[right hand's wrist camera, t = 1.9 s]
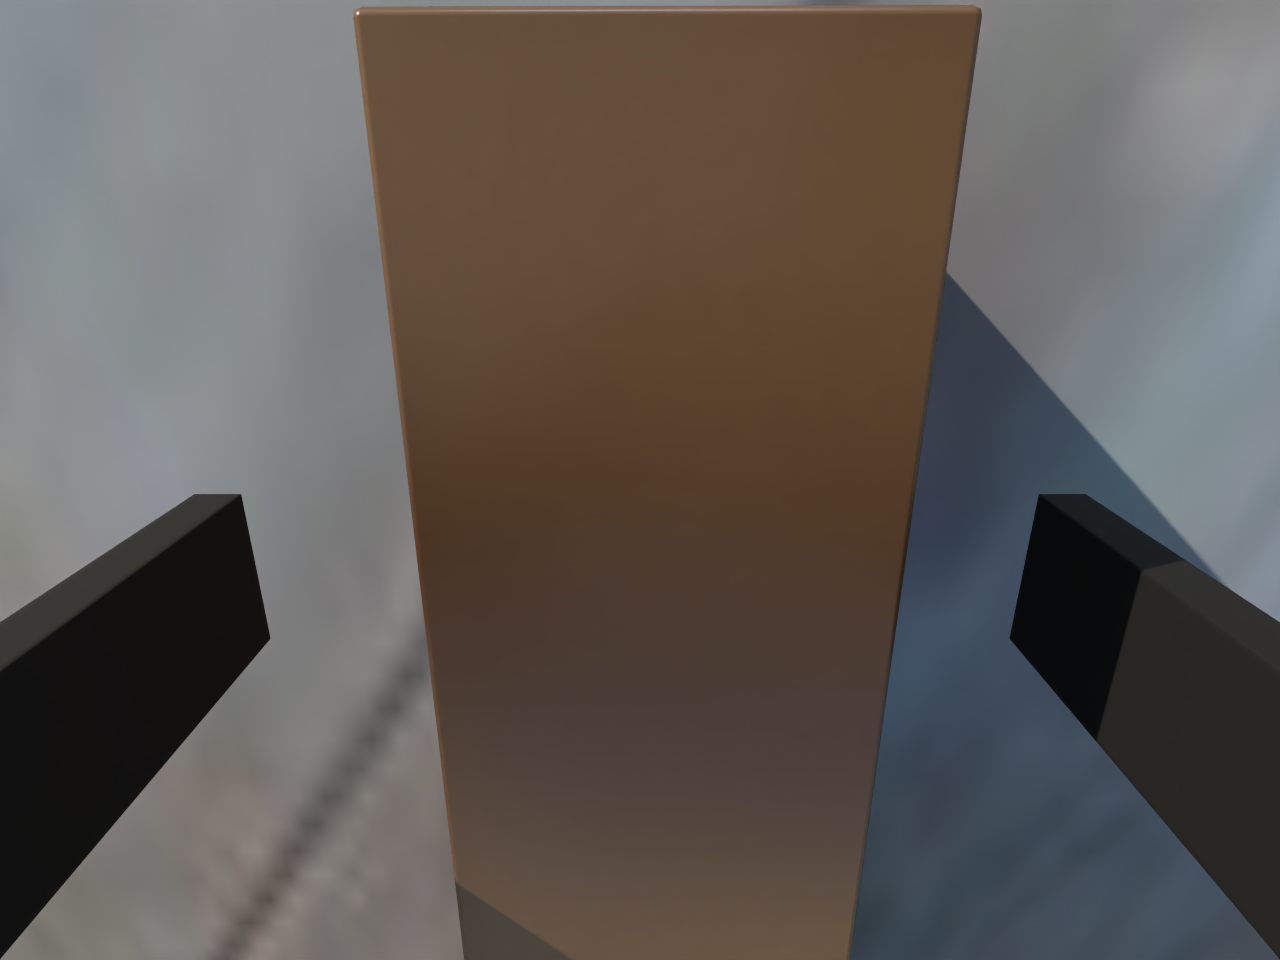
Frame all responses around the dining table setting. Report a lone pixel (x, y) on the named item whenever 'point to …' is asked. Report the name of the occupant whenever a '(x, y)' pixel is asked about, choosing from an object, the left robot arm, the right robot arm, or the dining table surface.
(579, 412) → the bar
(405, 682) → the dining table surface
